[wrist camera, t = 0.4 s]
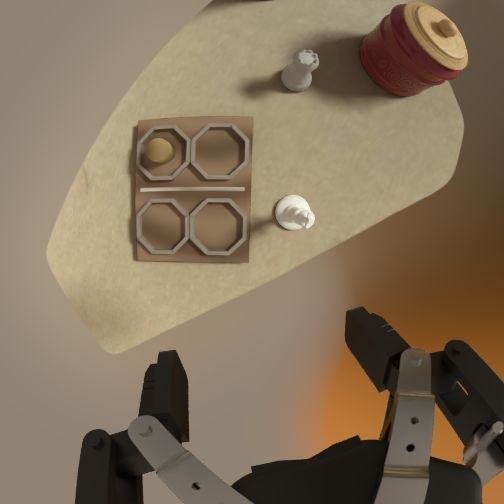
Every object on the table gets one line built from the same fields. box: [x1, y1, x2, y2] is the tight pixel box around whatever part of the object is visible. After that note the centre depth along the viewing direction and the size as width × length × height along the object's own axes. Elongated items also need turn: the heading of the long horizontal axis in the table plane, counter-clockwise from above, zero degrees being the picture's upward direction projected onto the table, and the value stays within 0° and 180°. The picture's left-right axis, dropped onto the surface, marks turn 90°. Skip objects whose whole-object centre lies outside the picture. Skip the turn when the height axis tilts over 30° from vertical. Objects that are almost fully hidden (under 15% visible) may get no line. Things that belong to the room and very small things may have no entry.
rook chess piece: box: [281, 49, 319, 91], centre depth 29 cm, size 4×4×8 cm
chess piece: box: [275, 195, 315, 230], centre depth 33 cm, size 5×5×10 cm
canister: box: [360, 1, 468, 96], centre depth 24 cm, size 13×13×18 cm
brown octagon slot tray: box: [135, 116, 253, 263], centre depth 34 cm, size 20×16×5 cm
